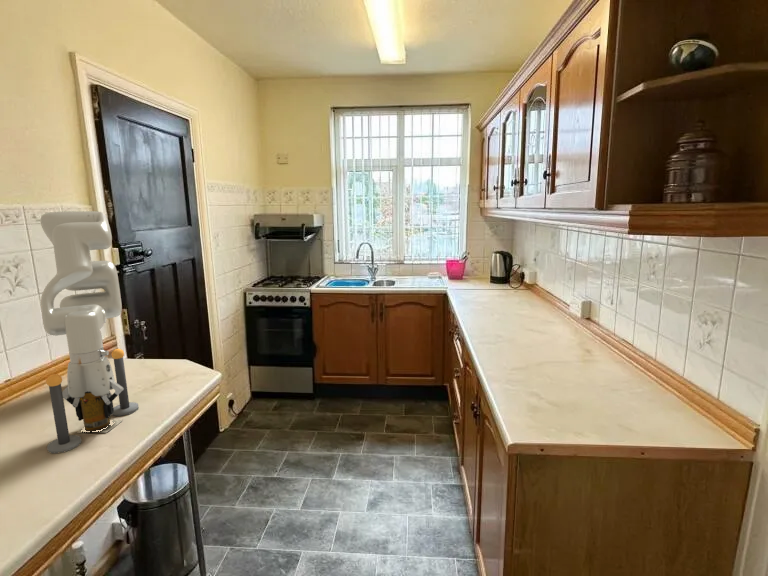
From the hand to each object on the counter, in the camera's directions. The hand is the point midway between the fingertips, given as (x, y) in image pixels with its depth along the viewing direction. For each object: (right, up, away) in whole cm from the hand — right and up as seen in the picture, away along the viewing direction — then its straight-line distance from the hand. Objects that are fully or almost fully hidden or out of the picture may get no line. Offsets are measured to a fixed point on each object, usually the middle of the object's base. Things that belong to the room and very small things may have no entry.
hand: (95, 416), depth 120 cm
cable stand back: (+2, -1, +10) cm, 10 cm away
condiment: (+1, -3, +1) cm, 3 cm away
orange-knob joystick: (-2, -5, -9) cm, 10 cm away
